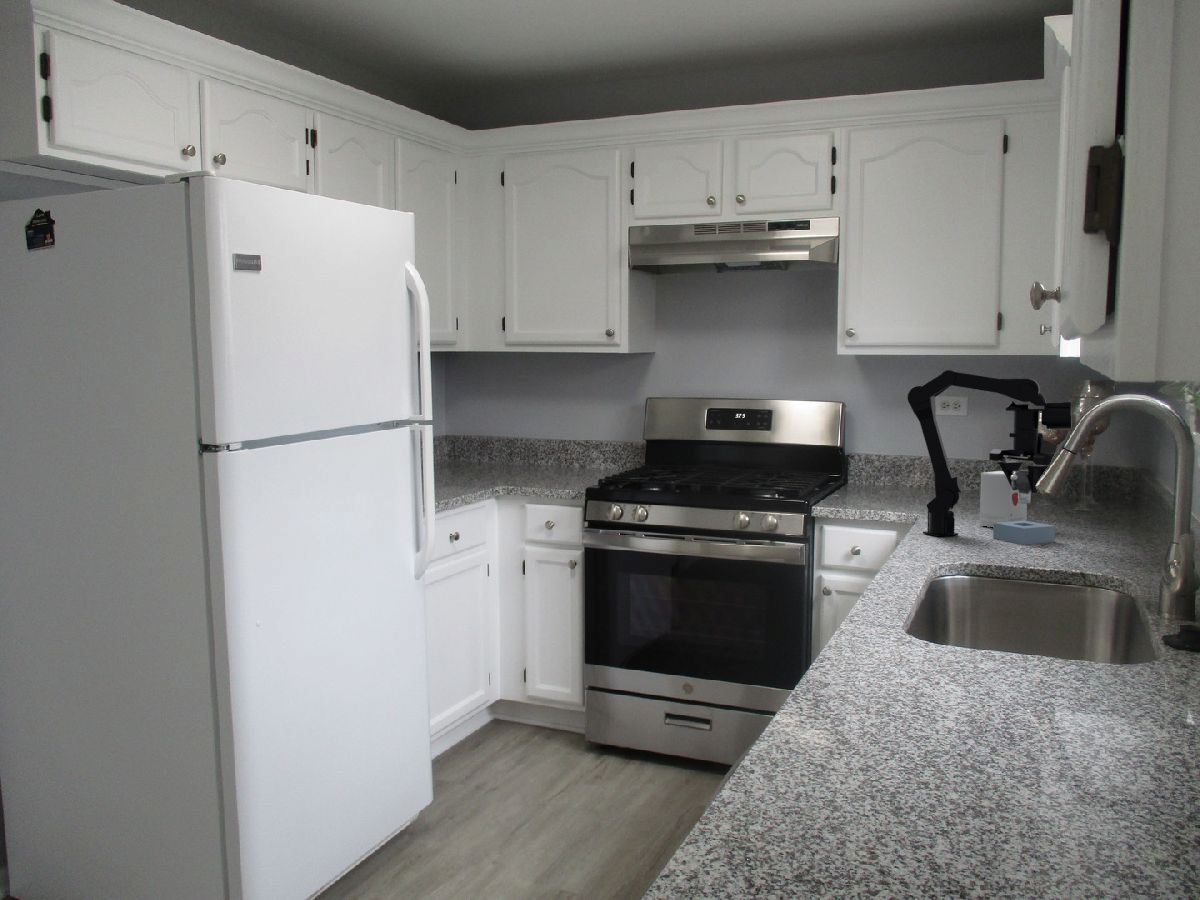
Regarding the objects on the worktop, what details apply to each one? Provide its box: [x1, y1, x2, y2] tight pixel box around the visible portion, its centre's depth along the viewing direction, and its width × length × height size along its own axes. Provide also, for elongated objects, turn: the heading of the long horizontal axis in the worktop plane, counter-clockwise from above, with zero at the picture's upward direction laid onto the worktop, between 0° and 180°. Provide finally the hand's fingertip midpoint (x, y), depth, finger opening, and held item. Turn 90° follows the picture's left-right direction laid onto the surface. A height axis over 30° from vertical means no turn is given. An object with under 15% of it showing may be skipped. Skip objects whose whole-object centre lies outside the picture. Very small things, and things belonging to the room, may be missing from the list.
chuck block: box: [992, 520, 1056, 546], centre depth 238 cm, size 10×10×4 cm
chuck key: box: [1011, 469, 1032, 504], centre depth 237 cm, size 8×6×8 cm
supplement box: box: [979, 470, 1028, 528], centre depth 260 cm, size 9×9×15 cm
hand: (1024, 491), depth 237 cm, fingers closed on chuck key, 6 cm apart
